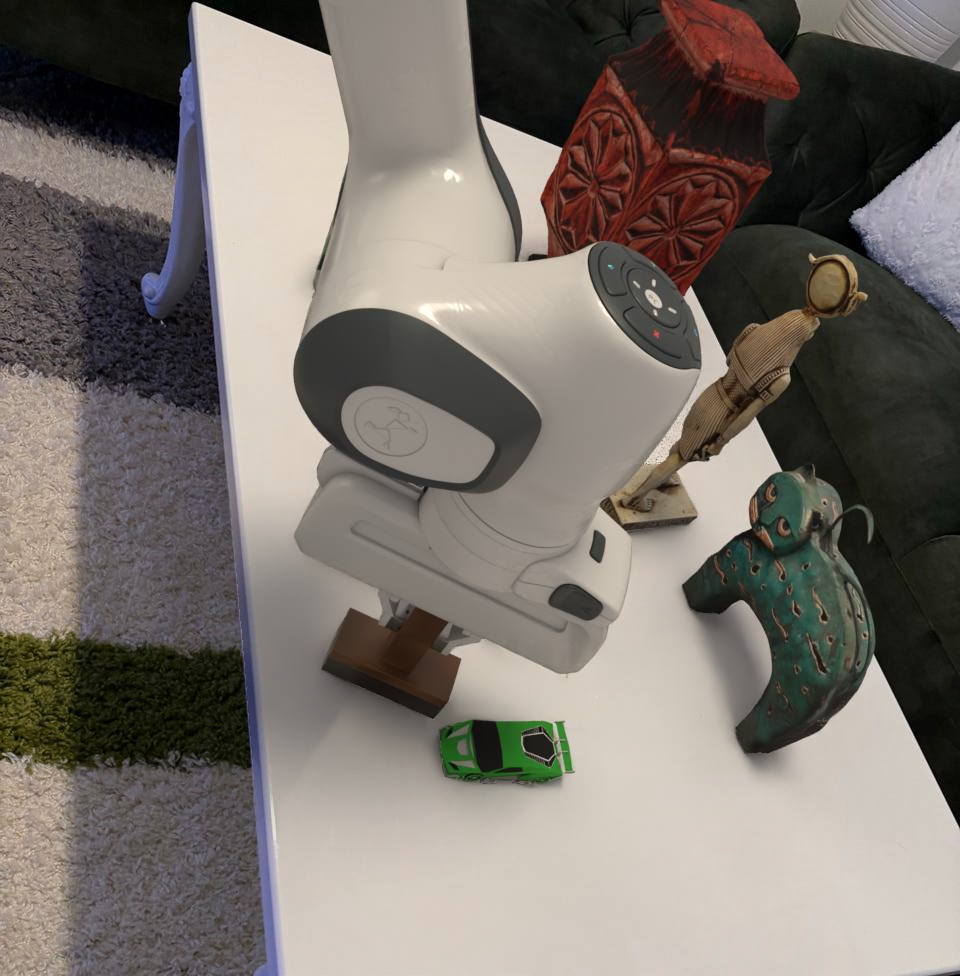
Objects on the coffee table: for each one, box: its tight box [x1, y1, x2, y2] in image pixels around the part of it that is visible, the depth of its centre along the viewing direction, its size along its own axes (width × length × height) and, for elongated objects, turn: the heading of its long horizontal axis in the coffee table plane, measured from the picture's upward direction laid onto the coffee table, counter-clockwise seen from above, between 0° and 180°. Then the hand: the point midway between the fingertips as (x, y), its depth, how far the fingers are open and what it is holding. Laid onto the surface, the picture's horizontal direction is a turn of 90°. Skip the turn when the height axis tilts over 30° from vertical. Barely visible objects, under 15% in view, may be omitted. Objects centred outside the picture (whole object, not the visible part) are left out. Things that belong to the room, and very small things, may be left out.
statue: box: [599, 252, 869, 532], centre depth 79 cm, size 7×10×30 cm
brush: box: [321, 604, 462, 720], centre depth 63 cm, size 9×4×11 cm, turn 76°
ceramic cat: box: [681, 462, 876, 755], centre depth 77 cm, size 20×6×20 cm, turn 12°
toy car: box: [438, 719, 576, 786], centre depth 68 cm, size 10×5×2 cm, turn 99°
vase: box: [526, 0, 801, 298], centre depth 93 cm, size 14×14×30 cm
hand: (414, 633), depth 63 cm, fingers closed on brush, 2 cm apart
